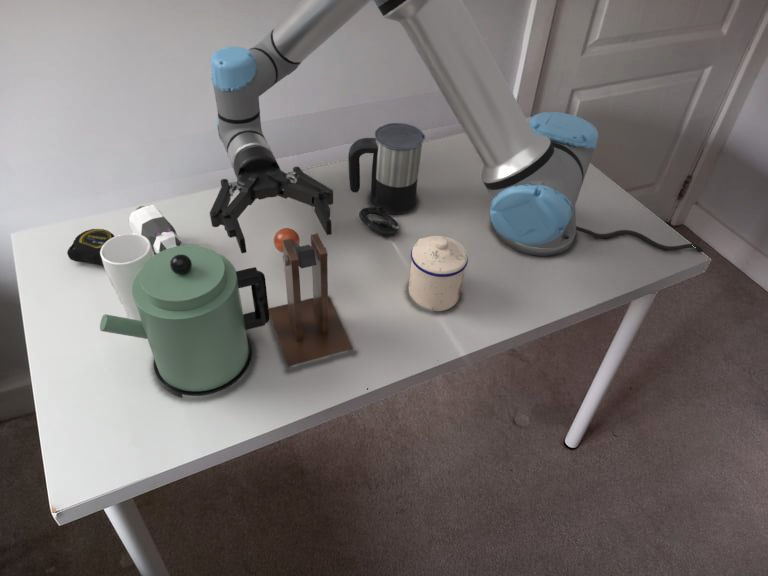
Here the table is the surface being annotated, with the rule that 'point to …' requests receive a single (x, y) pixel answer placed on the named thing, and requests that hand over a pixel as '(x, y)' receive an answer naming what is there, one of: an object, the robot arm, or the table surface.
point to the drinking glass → (125, 266)
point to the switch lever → (296, 247)
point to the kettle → (194, 318)
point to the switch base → (307, 312)
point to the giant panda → (154, 228)
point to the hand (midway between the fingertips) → (287, 237)
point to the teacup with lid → (437, 272)
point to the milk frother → (388, 173)
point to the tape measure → (89, 246)
